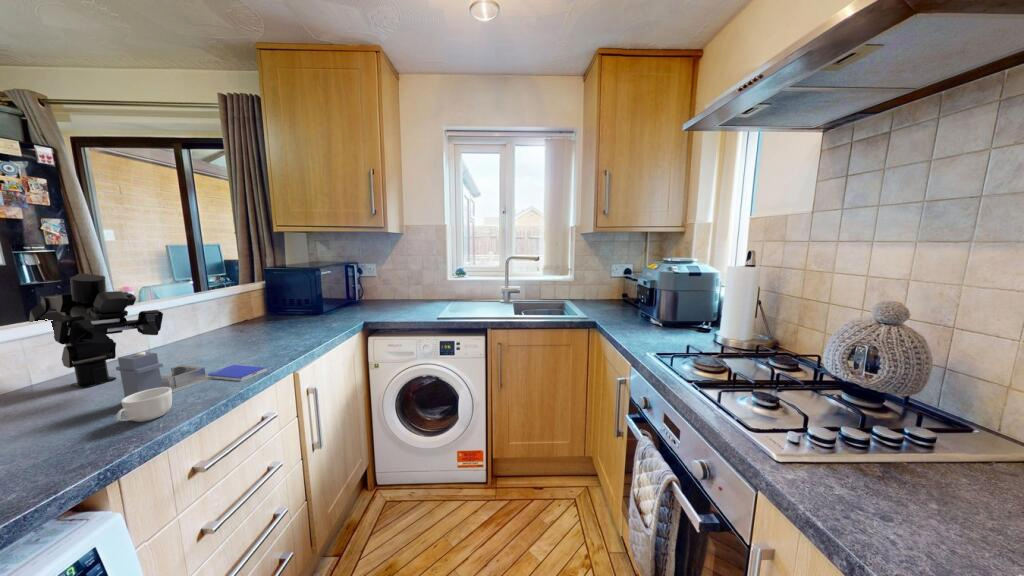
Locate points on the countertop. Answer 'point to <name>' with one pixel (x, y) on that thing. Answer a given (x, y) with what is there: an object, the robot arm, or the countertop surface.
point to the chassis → (184, 377)
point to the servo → (139, 372)
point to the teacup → (146, 404)
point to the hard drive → (237, 372)
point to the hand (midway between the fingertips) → (134, 336)
